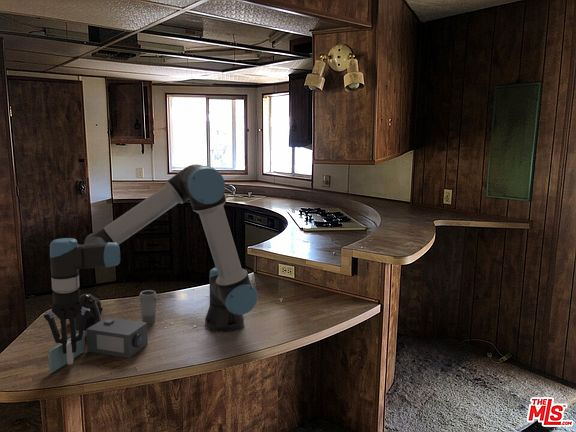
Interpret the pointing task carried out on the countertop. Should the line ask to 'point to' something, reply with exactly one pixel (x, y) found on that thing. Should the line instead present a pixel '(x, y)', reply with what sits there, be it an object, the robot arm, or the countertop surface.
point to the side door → (59, 358)
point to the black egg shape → (93, 315)
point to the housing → (117, 337)
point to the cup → (148, 306)
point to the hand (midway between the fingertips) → (70, 362)
